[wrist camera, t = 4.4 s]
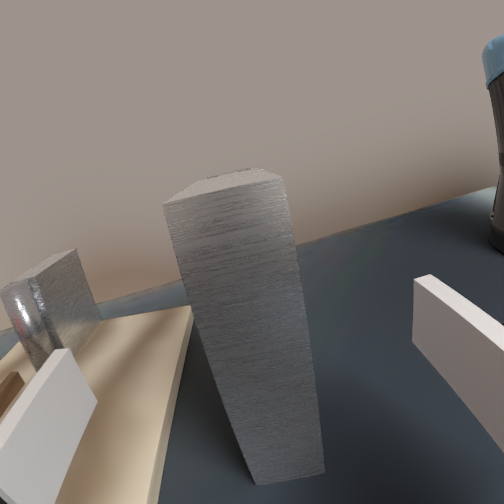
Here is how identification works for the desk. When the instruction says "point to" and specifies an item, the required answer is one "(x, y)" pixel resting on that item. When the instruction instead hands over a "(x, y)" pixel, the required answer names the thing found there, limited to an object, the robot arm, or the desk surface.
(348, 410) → the desk surface
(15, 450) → the robot arm
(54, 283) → the fixed leaf
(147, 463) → the hinge base
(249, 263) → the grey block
